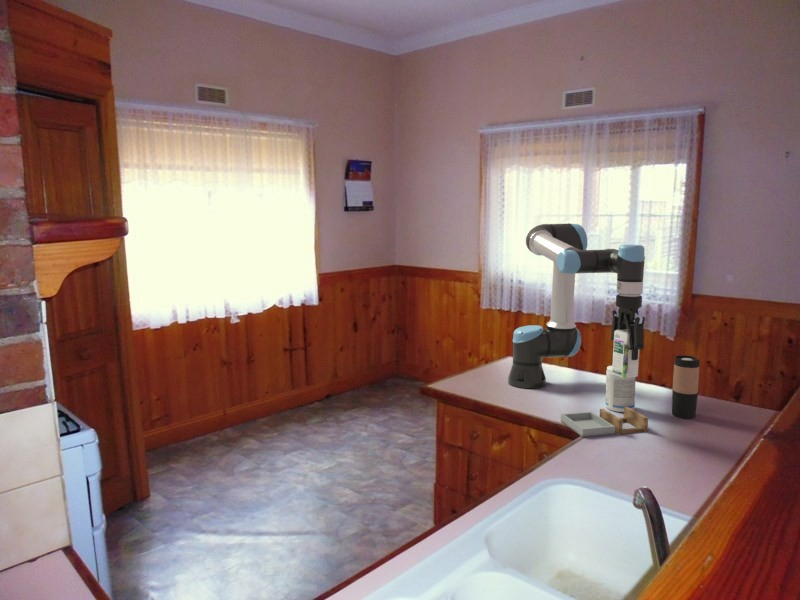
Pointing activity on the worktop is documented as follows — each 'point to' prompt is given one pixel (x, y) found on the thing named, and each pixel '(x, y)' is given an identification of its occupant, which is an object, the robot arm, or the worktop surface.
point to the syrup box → (622, 355)
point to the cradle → (630, 417)
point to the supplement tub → (619, 392)
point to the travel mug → (685, 386)
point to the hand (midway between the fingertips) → (625, 366)
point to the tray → (587, 424)
